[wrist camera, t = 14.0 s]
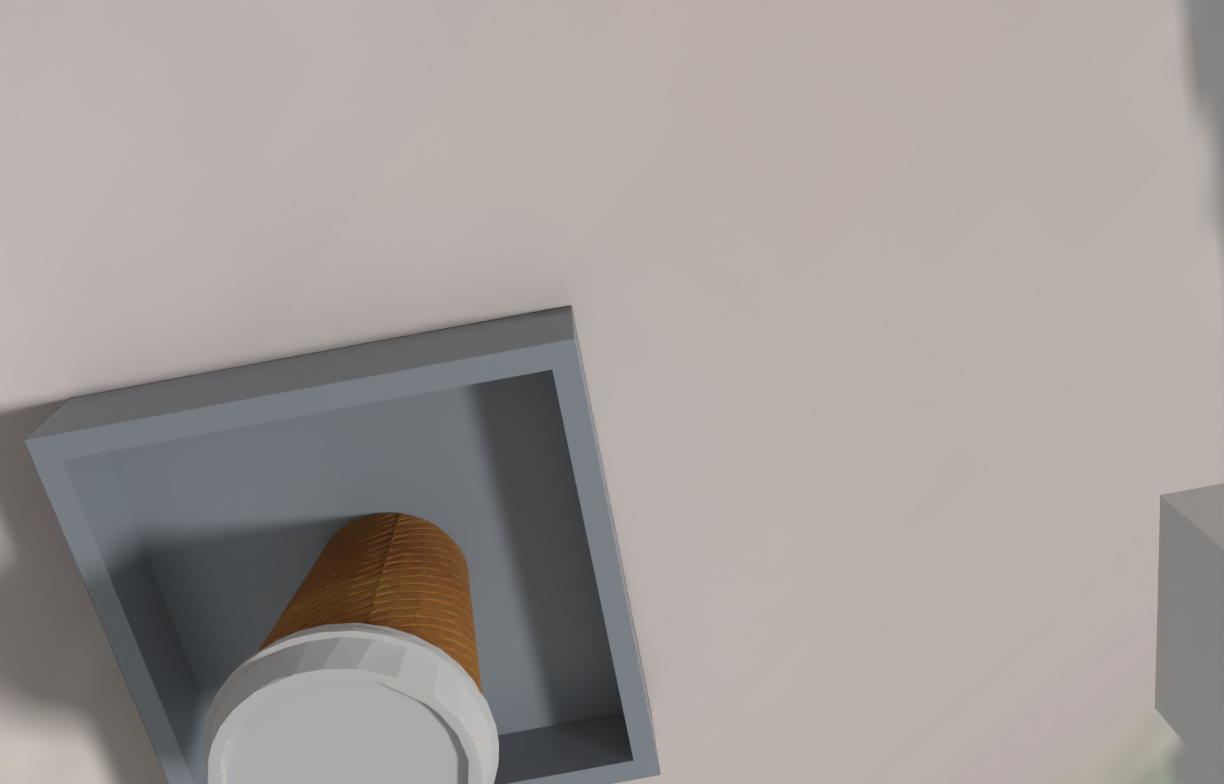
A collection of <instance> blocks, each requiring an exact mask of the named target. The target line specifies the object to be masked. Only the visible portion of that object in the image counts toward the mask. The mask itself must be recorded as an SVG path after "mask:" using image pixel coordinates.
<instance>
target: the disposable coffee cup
mask: <svg viewBox="0 0 1224 784" xmlns="http://www.w3.org/2000/svg"><path fill="white" fill-rule="evenodd" d="M202 750H203V755H204V760H205V765H206V771H207V774H208V784H494V781H495V777H496V773H497V768H498V761H499V741H498V734H497V727H496V724H495V722H494V719H493V716H492V713H491V711H490V708H489V705H488V703H487V700H486V699H485V698H484V696H483V695H482V687H481V678H480V668H479V661H478V654H477V644H476V636H475V627H474V618H473V610H472V602H471V593H470V584H469V571H468V567H467V564H466V560H465V558H464V556H463V554H462V552H461V550H460V548H459V546H458V545H457V544H456V543H455V542H454V541H453V540H452V539H451V537H450V536H449V535H448V534H447V533H445V532H444V531H443V530H441V529H440V528H439V527H437V526H436V525H434V524H432V523H431V522H429V521H427V520H424V519H421V518H418V517H415V516H412V515H407V514H402V513H379V514H374V515H369V516H365V517H363V518H360V519H357V520H355V521H352V522H351V523H349V524H348V525H346V526H345V527H343V528H342V529H340V530H339V531H338V532H337V533H336V534H335V535H334V536H333V537H332V538H331V539H330V540H329V542H328V543H327V545H326V546H325V548H324V549H323V551H322V553H321V555H320V556H319V558H318V559H317V561H316V562H315V564H314V565H313V567H312V568H311V570H310V572H309V573H308V575H307V576H306V578H305V579H304V581H303V582H302V584H301V585H300V587H299V588H298V590H297V591H296V593H295V594H294V596H293V598H292V599H291V601H290V602H289V604H288V605H287V607H286V609H285V610H284V611H283V613H282V614H281V616H280V618H279V619H278V621H277V622H276V624H275V625H274V627H273V629H272V630H271V631H270V633H269V634H268V636H267V637H266V639H265V640H264V642H263V644H262V645H261V647H260V648H259V650H258V652H257V653H256V654H255V655H253V656H252V657H250V658H248V659H247V660H246V661H245V662H244V663H243V664H242V665H241V666H240V667H238V668H237V669H236V670H235V671H234V672H233V673H232V674H231V675H230V676H229V678H228V679H227V680H226V682H225V683H224V684H223V686H222V687H221V688H220V690H219V691H218V692H217V694H216V696H215V698H214V700H213V702H212V704H211V707H210V709H209V711H208V714H207V718H206V722H205V726H204V733H203V748H202Z"/></svg>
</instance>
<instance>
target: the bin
mask: <svg viewBox="0 0 1224 784" xmlns="http://www.w3.org/2000/svg"><path fill="white" fill-rule="evenodd" d="M24 441H25V443H26V446H27V448H28V451H29V453H30V455H31V458H32V460H33V462H34V465H35V467H36V470H37V472H38V474H39V477H40V479H41V481H42V484H43V486H44V489H45V491H46V493H47V496H48V498H49V500H50V503H51V505H52V508H53V510H54V512H55V515H56V517H57V519H58V522H59V524H60V527H61V529H62V531H63V534H64V536H65V538H66V541H67V543H68V546H69V548H70V550H71V553H72V555H73V557H74V560H75V562H76V565H77V567H78V569H79V572H80V574H81V576H82V579H83V581H84V584H85V586H86V588H87V591H88V593H89V595H90V598H91V600H92V603H93V605H94V607H95V610H96V612H97V614H98V617H99V619H100V621H101V624H102V626H103V629H104V631H105V633H106V636H107V638H108V640H109V643H110V645H111V648H112V650H113V652H114V655H115V657H116V659H117V662H118V664H119V667H120V669H121V671H122V674H123V676H124V678H125V681H126V683H127V686H128V688H129V690H130V693H131V695H132V697H133V700H134V702H135V705H136V707H137V709H138V712H139V714H140V716H141V719H142V721H143V724H144V726H145V728H146V731H147V733H148V735H149V738H150V740H151V743H152V745H153V747H154V750H155V752H156V754H157V757H158V759H159V762H160V764H161V766H162V769H163V771H164V773H165V776H166V778H167V781H168V783H169V784H208V774H207V771H206V765H205V760H204V755H203V750H202V748H203V733H204V726H205V722H206V718H207V714H208V711H209V709H210V707H211V704H212V702H213V700H214V698H215V696H216V694H217V692H218V691H219V690H220V688H221V687H222V686H223V684H224V683H225V682H226V680H227V679H228V678H229V676H230V675H231V674H232V673H233V672H234V671H235V670H236V669H237V668H238V667H240V666H241V665H242V664H243V663H244V662H245V661H246V660H247V659H248V658H250V657H252V656H253V655H255V654H256V653H257V652H258V650H259V648H260V647H261V645H262V644H263V642H264V640H265V639H266V637H267V636H268V634H269V633H270V631H271V630H272V629H273V627H274V625H275V624H276V622H277V621H278V619H279V618H280V616H281V614H282V613H283V611H284V610H285V609H286V607H287V605H288V604H289V602H290V601H291V599H292V598H293V596H294V594H295V593H296V591H297V590H298V588H299V587H300V585H301V584H302V582H303V581H304V579H305V578H306V576H307V575H308V573H309V572H310V570H311V568H312V567H313V565H314V564H315V562H316V561H317V559H318V558H319V556H320V555H321V553H322V551H323V549H324V548H325V546H326V545H327V543H328V542H329V540H330V539H331V538H332V537H333V536H334V535H335V534H336V533H337V532H338V531H339V530H340V529H342V528H343V527H345V526H346V525H348V524H349V523H351V522H352V521H355V520H357V519H360V518H363V517H365V516H369V515H374V514H379V513H402V514H407V515H412V516H415V517H418V518H421V519H424V520H427V521H429V522H431V523H432V524H434V525H436V526H437V527H439V528H440V529H441V530H443V531H444V532H445V533H447V534H448V535H449V536H450V537H451V539H452V540H453V541H454V542H455V543H456V544H457V545H458V546H459V548H460V550H461V552H462V554H463V556H464V558H465V560H466V564H467V567H468V571H469V584H470V593H471V602H472V610H473V618H474V627H475V636H476V644H477V654H478V661H479V668H480V678H481V687H482V695H483V696H484V698H485V699H486V700H487V703H488V705H489V708H490V711H491V713H492V716H493V719H494V722H495V724H496V727H497V734H498V741H499V761H498V768H497V773H496V777H495V781H494V784H612V783H618V782H623V781H629V780H634V779H640V778H645V777H651V776H656V775H661V774H660V768H659V761H658V754H657V748H656V741H655V734H654V728H653V721H652V714H651V709H650V704H649V699H648V694H647V689H646V684H645V678H644V673H643V668H642V663H641V658H640V653H639V648H638V643H637V638H636V633H635V627H634V622H633V617H632V612H631V607H630V602H629V597H628V592H627V587H626V582H625V576H624V571H623V566H622V561H621V556H620V551H619V546H618V541H617V536H616V531H615V525H614V520H613V515H612V510H611V505H610V500H609V495H608V490H607V485H606V480H605V474H604V469H603V464H602V459H601V454H600V449H599V444H598V439H597V434H596V429H595V423H594V418H593V413H592V408H591V403H590V398H589V393H588V388H587V383H586V378H585V372H584V367H583V362H582V357H581V352H580V347H579V342H578V337H577V332H576V327H575V321H574V316H573V311H572V306H566V307H561V308H555V309H550V310H545V311H539V312H534V313H528V314H523V315H518V316H512V317H507V318H501V319H496V320H491V321H485V322H480V323H474V324H469V325H463V326H458V327H453V328H447V329H442V330H436V331H431V332H426V333H420V334H415V335H409V336H404V337H399V338H393V339H388V340H382V341H377V342H372V343H366V344H361V345H355V346H350V347H345V348H339V349H334V350H328V351H323V352H318V353H312V354H307V355H301V356H296V357H291V358H285V359H280V360H274V361H269V362H264V363H258V364H253V365H247V366H242V367H237V368H231V369H226V370H220V371H215V372H210V373H204V374H199V375H193V376H188V377H183V378H177V379H172V380H166V381H161V382H156V383H150V384H145V385H139V386H134V387H129V388H123V389H118V390H112V391H107V392H101V393H96V394H91V395H85V396H80V397H74V398H70V399H69V400H67V401H66V402H65V403H64V404H63V405H62V406H61V407H60V408H59V409H58V410H57V411H56V412H54V413H53V414H52V415H51V416H50V417H49V418H48V419H47V420H46V421H45V422H44V423H43V424H41V425H40V426H39V427H38V428H37V429H36V430H35V431H34V432H33V433H32V434H31V435H30V436H28V437H27V438H26V439H25V440H24Z"/></svg>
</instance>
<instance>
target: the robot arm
mask: <svg viewBox="0 0 1224 784" xmlns="http://www.w3.org/2000/svg"><path fill="white" fill-rule="evenodd" d="M1155 708H1156V709H1157V711H1158V712H1159V713H1160V714H1161V715H1162V717H1163V718H1164V719H1165V720H1166V721H1167V723H1168V724H1169V725H1170V726H1171V727H1172V729H1173V730H1174V731H1175V732H1176V733H1177V735H1178V736H1179V737H1180V738H1181V739H1182V741H1183V742H1184V743H1185V744H1186V746H1187V747H1188V748H1189V749H1190V750H1191V752H1192V753H1193V754H1194V755H1195V756H1196V757H1197V759H1198V760H1199V761H1200V762H1201V764H1202V765H1203V766H1204V767H1205V768H1206V770H1207V771H1208V772H1209V773H1210V774H1211V775H1212V777H1213V778H1214V779H1215V780H1216V782H1217V783H1218V784H1224V484H1219V485H1213V486H1208V487H1202V488H1197V489H1191V490H1186V491H1181V492H1175V493H1170V494H1164V495H1160V531H1159V570H1158V610H1157V649H1156V688H1155Z"/></svg>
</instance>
